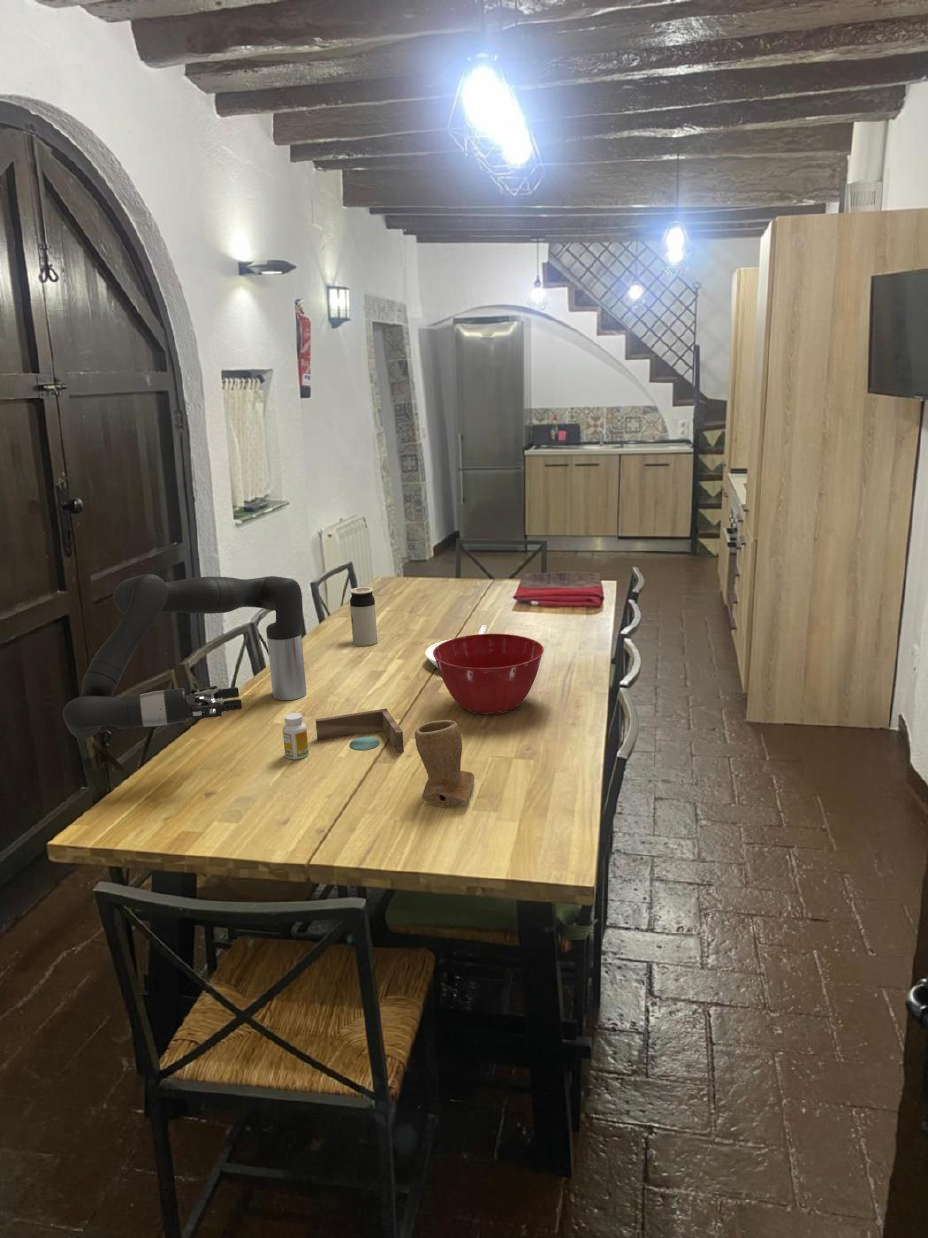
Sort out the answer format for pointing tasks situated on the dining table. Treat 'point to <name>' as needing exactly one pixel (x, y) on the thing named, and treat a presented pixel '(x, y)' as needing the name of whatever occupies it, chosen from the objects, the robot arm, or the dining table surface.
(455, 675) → the mixing bowl
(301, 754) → the supplement bottle
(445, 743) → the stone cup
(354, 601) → the travel mug
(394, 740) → the corner arena
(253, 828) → the dining table surface
